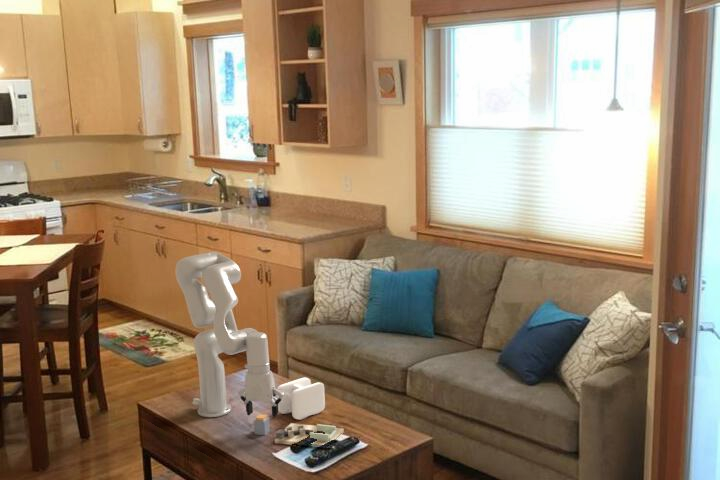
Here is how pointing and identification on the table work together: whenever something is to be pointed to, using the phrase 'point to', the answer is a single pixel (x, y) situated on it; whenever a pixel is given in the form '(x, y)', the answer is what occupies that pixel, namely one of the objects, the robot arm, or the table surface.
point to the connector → (261, 424)
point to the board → (309, 427)
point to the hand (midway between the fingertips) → (262, 414)
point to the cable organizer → (301, 398)
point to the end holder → (325, 429)
